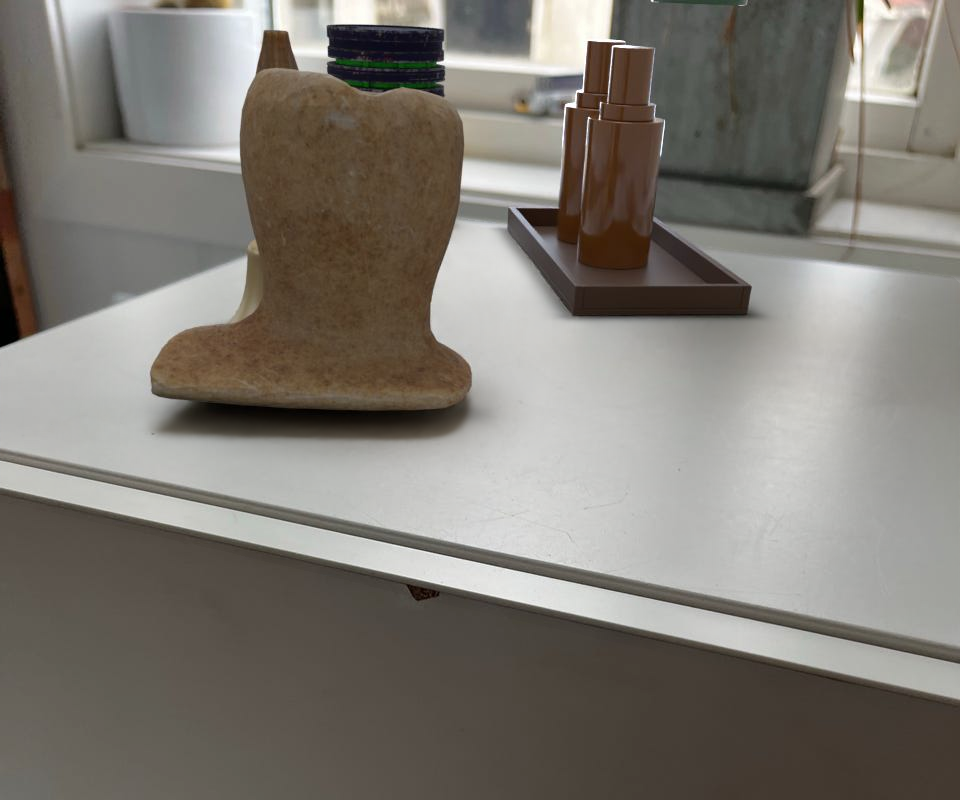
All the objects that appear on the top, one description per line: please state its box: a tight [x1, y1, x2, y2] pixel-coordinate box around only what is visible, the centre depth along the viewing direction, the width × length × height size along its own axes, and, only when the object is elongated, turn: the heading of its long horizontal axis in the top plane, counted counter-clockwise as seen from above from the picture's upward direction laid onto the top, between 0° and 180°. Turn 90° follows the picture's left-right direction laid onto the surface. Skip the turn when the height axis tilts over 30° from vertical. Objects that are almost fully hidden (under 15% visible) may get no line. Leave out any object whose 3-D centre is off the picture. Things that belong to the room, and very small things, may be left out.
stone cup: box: [149, 68, 473, 412], centre depth 49 cm, size 15×12×15 cm
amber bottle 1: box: [556, 38, 626, 245], centre depth 82 cm, size 6×6×14 cm
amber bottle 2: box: [576, 45, 666, 270], centre depth 75 cm, size 6×6×14 cm
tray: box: [506, 206, 753, 316], centre depth 79 cm, size 12×27×2 cm, turn 8°
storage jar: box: [326, 23, 446, 98], centre depth 87 cm, size 10×10×15 cm
